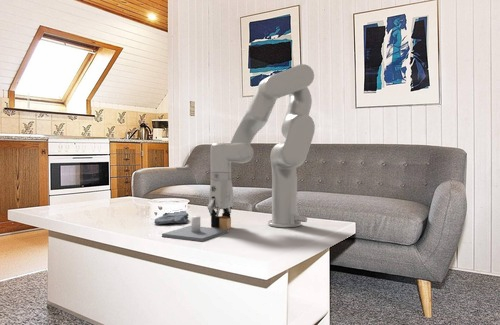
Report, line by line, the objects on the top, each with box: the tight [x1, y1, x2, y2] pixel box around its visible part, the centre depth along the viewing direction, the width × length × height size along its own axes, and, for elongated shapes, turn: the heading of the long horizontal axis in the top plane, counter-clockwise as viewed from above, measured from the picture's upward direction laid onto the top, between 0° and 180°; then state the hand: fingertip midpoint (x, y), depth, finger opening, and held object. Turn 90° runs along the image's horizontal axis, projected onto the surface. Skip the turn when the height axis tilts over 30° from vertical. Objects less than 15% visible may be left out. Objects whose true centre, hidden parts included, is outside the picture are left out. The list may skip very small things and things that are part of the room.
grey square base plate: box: [161, 215, 229, 242], centre depth 136 cm, size 16×16×6 cm
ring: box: [210, 215, 232, 230], centre depth 147 cm, size 7×7×4 cm
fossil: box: [153, 210, 189, 226], centre depth 162 cm, size 13×18×4 cm
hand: (220, 225), depth 147 cm, fingers closed on ring, 6 cm apart
